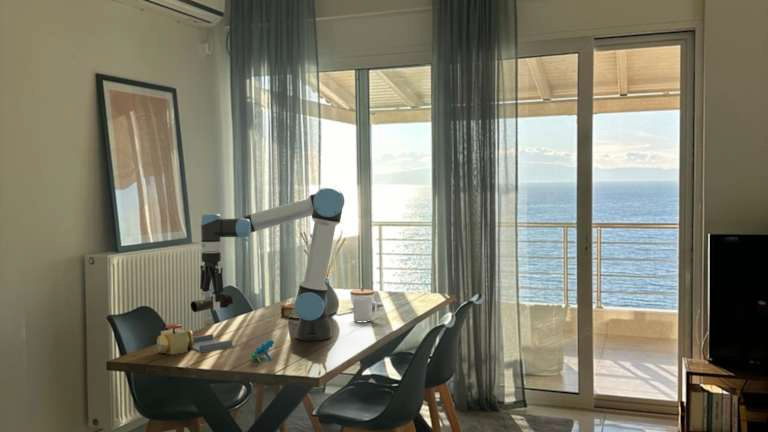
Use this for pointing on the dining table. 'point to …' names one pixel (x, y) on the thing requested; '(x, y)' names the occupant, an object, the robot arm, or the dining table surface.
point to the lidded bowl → (362, 293)
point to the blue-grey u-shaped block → (210, 343)
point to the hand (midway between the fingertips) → (211, 308)
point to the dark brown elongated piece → (211, 303)
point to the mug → (363, 308)
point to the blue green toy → (262, 350)
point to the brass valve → (175, 340)
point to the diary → (287, 310)
